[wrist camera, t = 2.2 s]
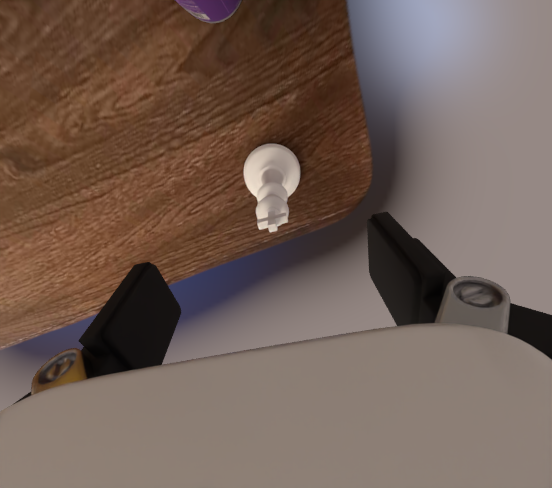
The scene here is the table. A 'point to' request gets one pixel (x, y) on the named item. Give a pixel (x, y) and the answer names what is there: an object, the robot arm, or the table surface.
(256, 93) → the table surface
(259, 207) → the chess piece
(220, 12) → the container
